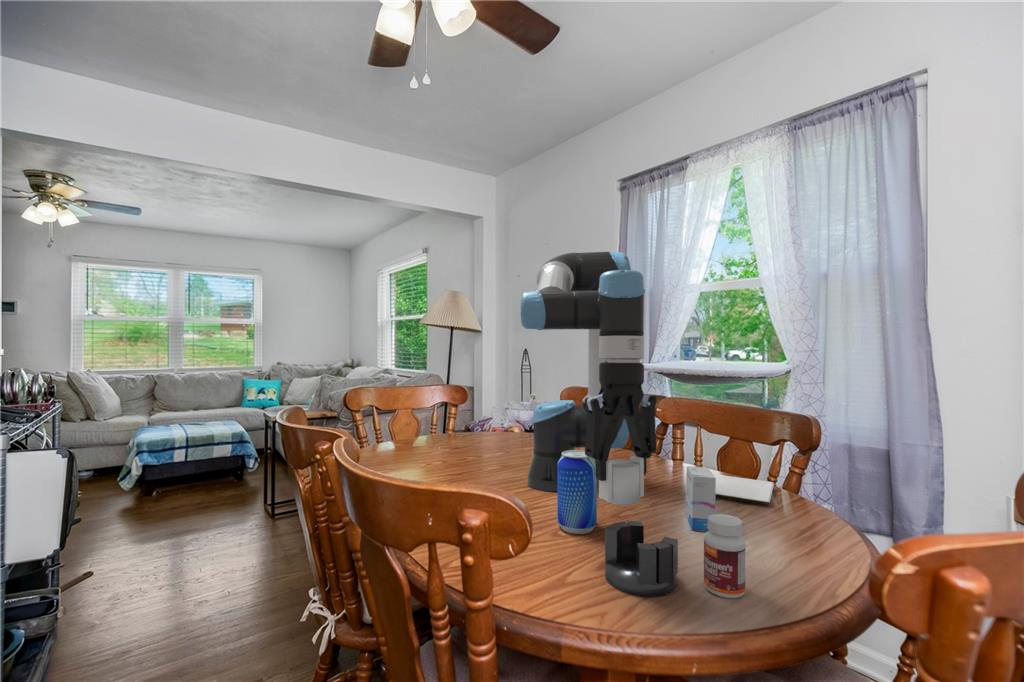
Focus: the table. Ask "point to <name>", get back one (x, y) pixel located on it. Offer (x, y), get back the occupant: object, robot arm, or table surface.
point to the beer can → (576, 492)
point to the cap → (625, 482)
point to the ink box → (699, 497)
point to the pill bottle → (724, 556)
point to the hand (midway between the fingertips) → (621, 496)
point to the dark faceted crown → (639, 561)
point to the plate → (743, 489)
